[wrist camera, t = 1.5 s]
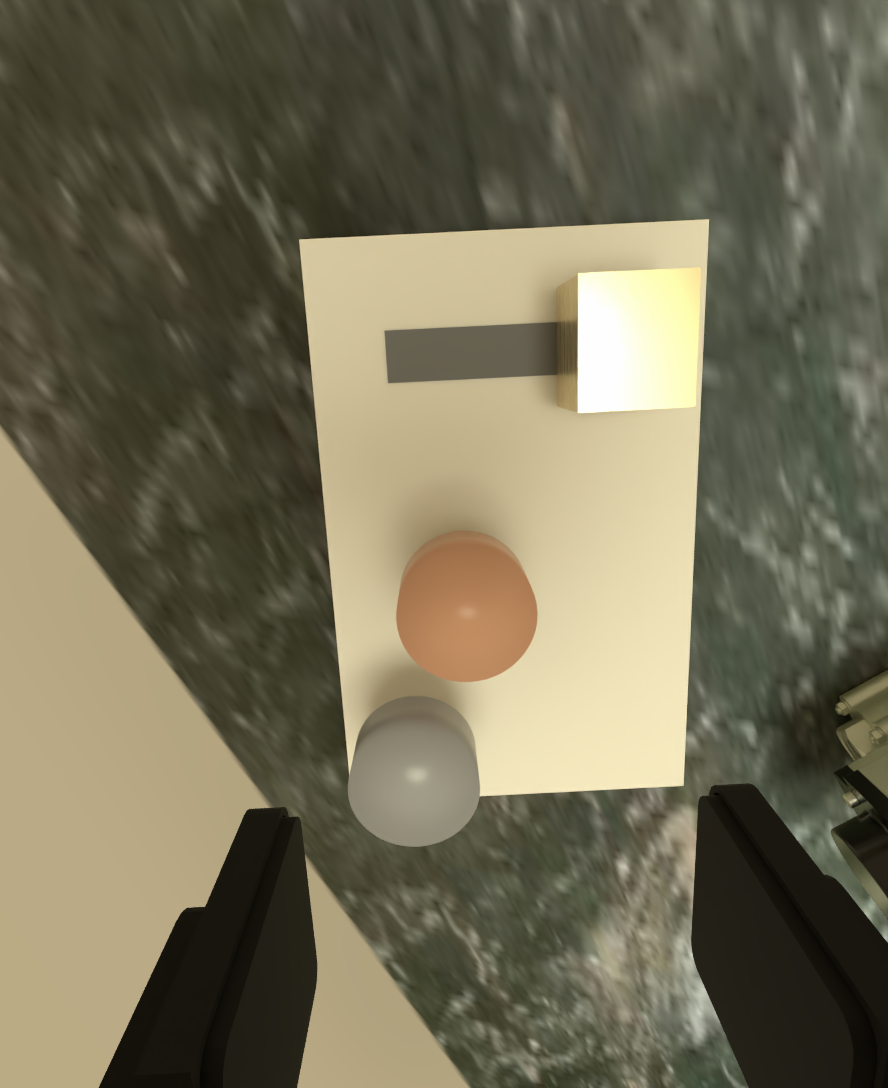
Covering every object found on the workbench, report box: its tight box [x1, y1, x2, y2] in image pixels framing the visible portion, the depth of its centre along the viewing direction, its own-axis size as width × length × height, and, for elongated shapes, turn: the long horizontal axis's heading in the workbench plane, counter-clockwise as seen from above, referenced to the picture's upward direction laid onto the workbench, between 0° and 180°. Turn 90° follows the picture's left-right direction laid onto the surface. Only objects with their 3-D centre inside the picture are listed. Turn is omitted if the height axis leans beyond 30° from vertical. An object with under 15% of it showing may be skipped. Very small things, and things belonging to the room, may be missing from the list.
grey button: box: [348, 696, 480, 846], centre depth 24 cm, size 4×4×4 cm
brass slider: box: [556, 267, 702, 413], centre depth 22 cm, size 4×4×4 cm
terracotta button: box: [396, 531, 538, 682], centre depth 23 cm, size 4×4×4 cm
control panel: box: [299, 219, 709, 796], centre depth 27 cm, size 14×22×3 cm, turn 3°
